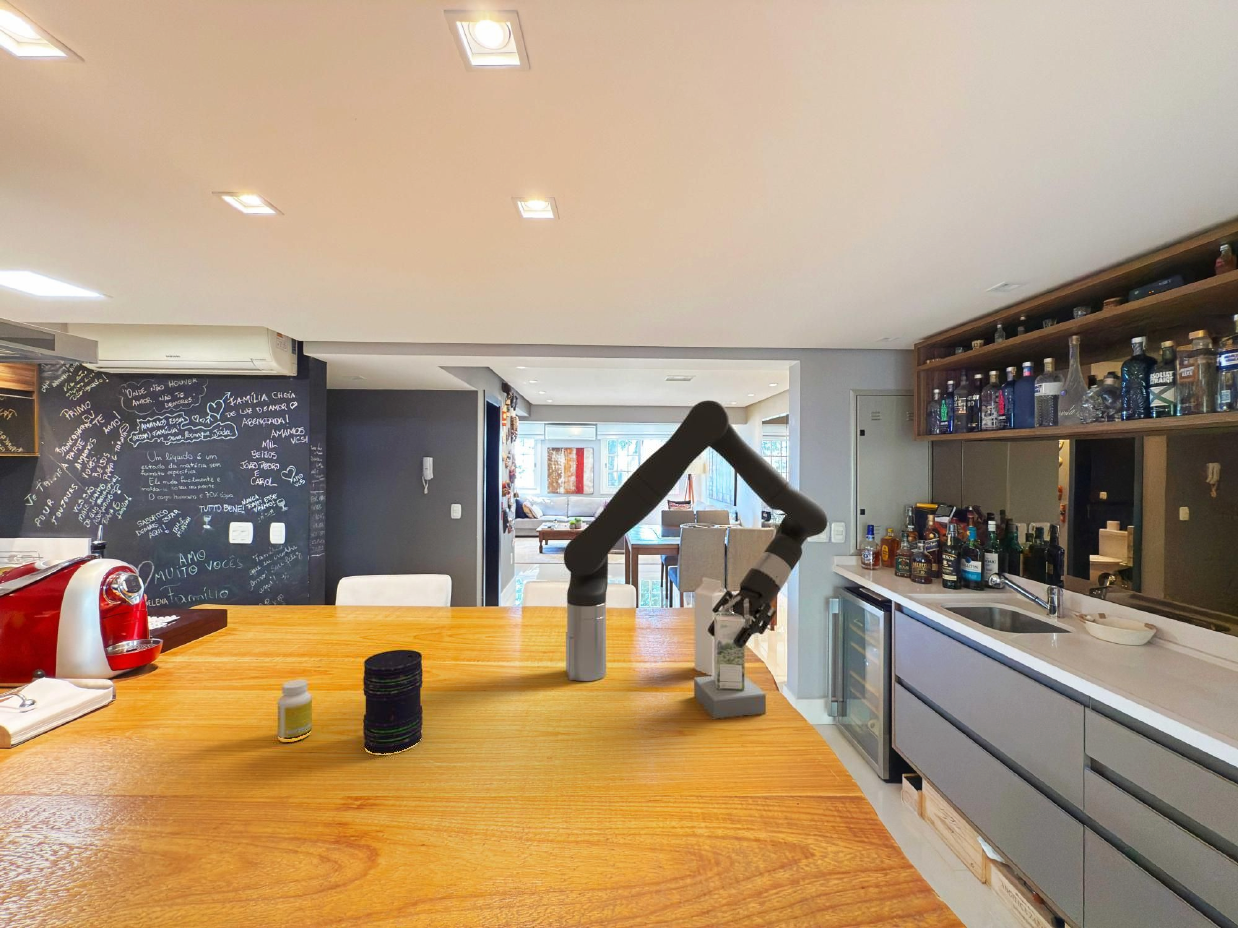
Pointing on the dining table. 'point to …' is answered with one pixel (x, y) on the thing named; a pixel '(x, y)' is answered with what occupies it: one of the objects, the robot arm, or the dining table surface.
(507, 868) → the dining table surface
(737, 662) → the syrup box
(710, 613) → the milk
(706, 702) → the podium
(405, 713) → the storage jar
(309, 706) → the supplement bottle
